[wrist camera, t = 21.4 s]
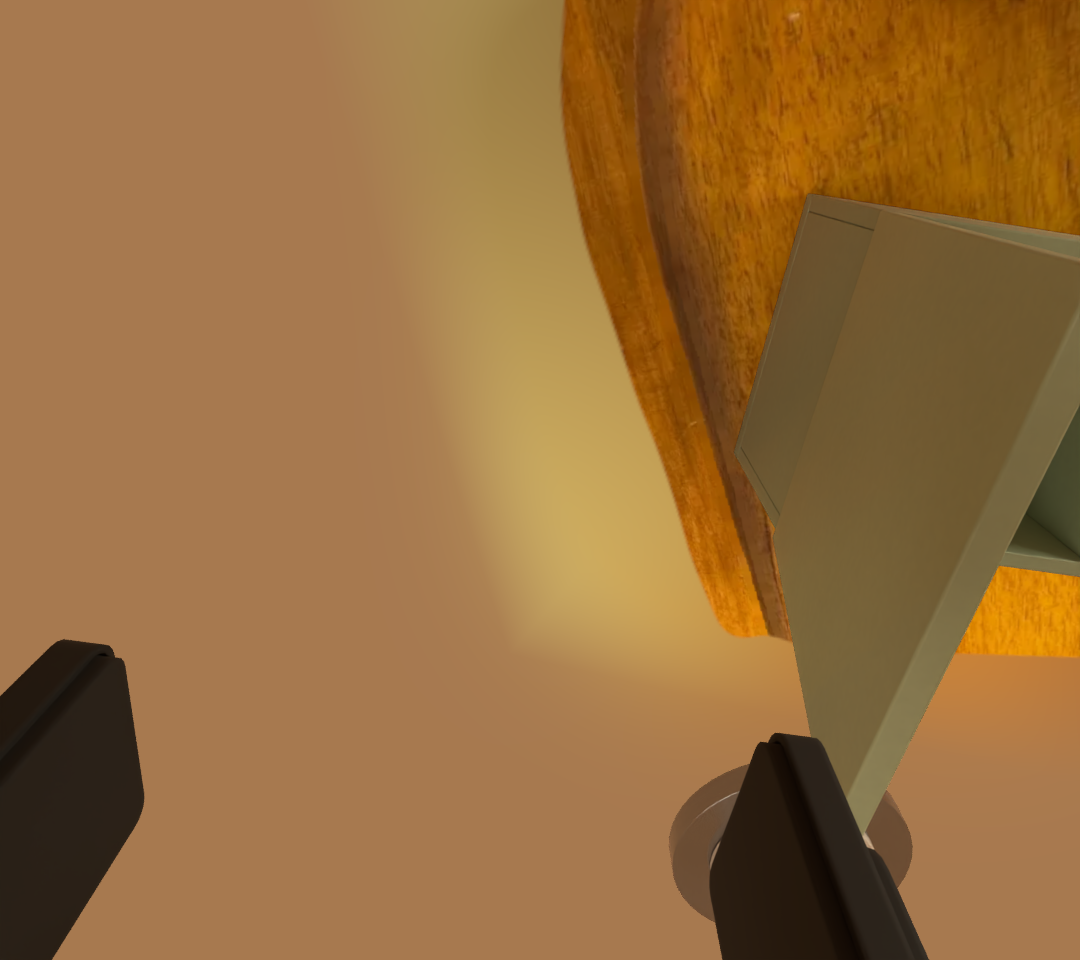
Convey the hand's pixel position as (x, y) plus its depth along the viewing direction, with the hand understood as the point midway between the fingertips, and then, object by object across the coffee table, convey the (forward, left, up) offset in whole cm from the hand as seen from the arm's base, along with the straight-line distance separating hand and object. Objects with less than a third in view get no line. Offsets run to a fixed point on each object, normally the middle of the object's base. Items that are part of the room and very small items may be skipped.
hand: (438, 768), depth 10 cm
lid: (0, -12, -14) cm, 18 cm away
